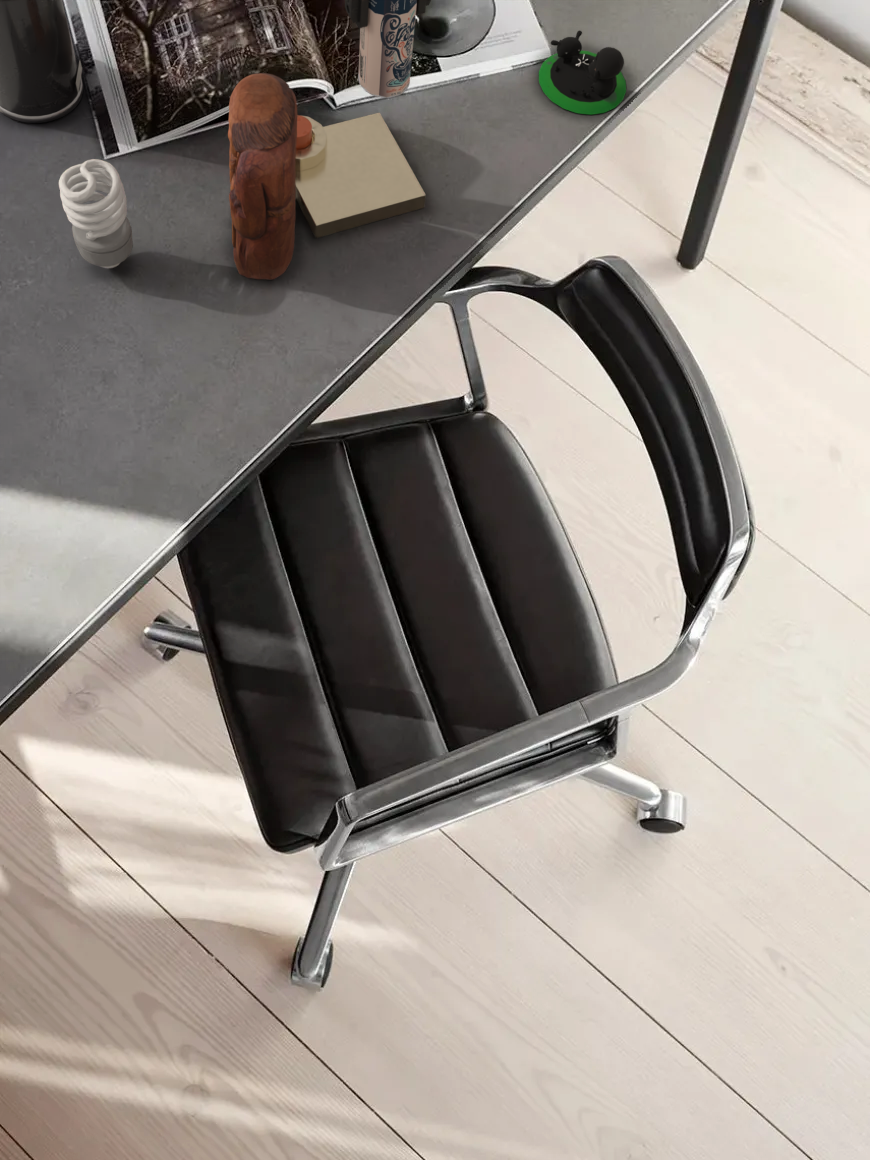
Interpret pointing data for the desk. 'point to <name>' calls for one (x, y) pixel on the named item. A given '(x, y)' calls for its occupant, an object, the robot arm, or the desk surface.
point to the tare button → (303, 133)
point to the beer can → (387, 47)
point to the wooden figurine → (262, 174)
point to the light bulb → (97, 212)
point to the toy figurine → (583, 77)
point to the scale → (353, 176)
